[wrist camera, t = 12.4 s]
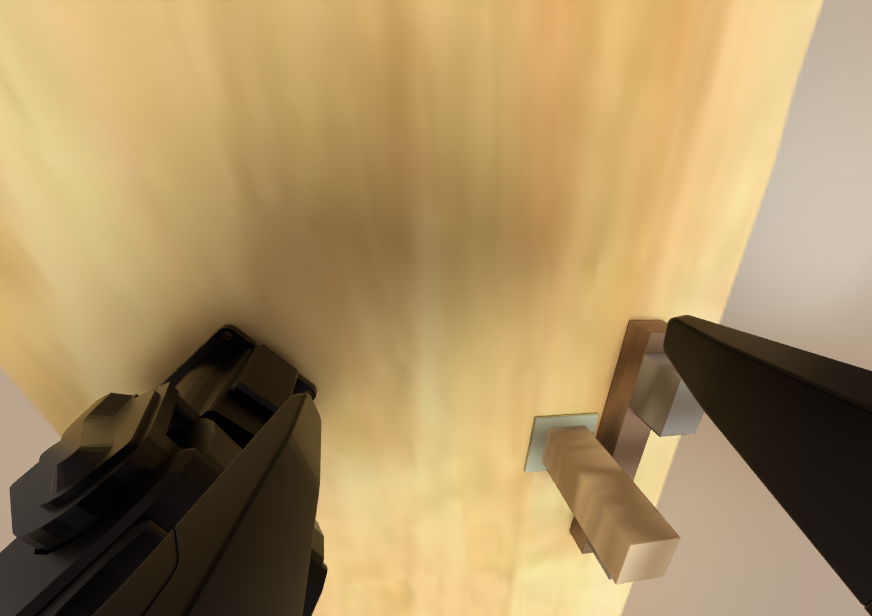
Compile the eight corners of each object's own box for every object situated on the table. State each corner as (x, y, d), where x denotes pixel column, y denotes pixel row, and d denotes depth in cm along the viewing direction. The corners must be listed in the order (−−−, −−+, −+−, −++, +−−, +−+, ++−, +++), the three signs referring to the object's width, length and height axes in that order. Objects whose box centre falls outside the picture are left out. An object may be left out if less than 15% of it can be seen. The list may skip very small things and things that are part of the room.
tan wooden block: (541, 460, 28) (616, 584, 20) (547, 428, 27) (630, 545, 19) (580, 456, 29) (668, 575, 21) (588, 425, 28) (685, 537, 19)
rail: (595, 528, 33) (633, 587, 28) (509, 539, 31) (535, 605, 27) (661, 320, 26) (726, 355, 21) (554, 321, 24) (600, 359, 19)
